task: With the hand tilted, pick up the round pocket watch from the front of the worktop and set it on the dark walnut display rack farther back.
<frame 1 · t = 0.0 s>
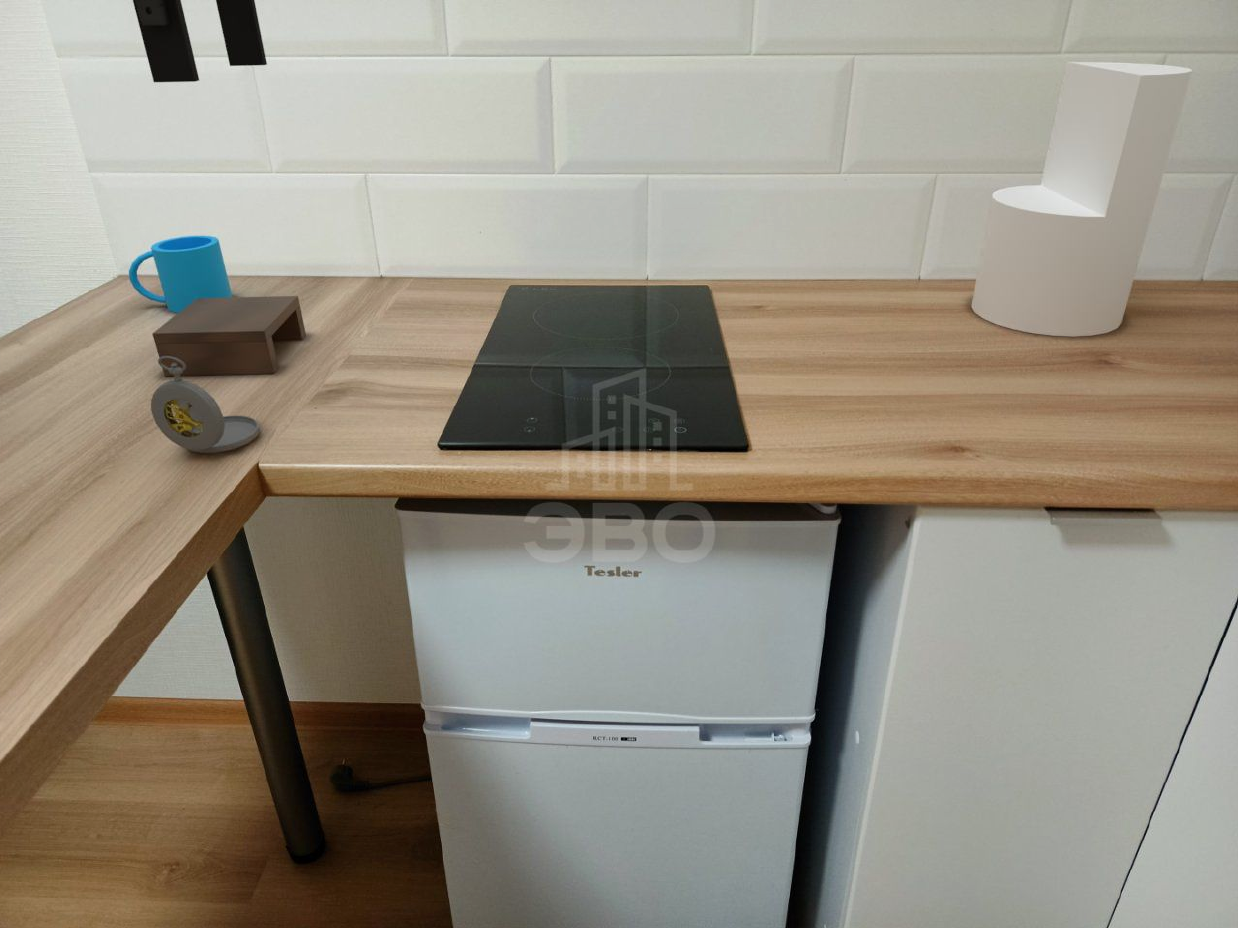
hand: (216, 73, 63), 32 cm above the table, tool pointing down, fingers open, 13 cm apart
white stepped block: (1043, 313, 108), on the table
pocket watch: (215, 447, 80), on the table
mug: (186, 306, 116), on the table
rack: (239, 354, 100), on the table
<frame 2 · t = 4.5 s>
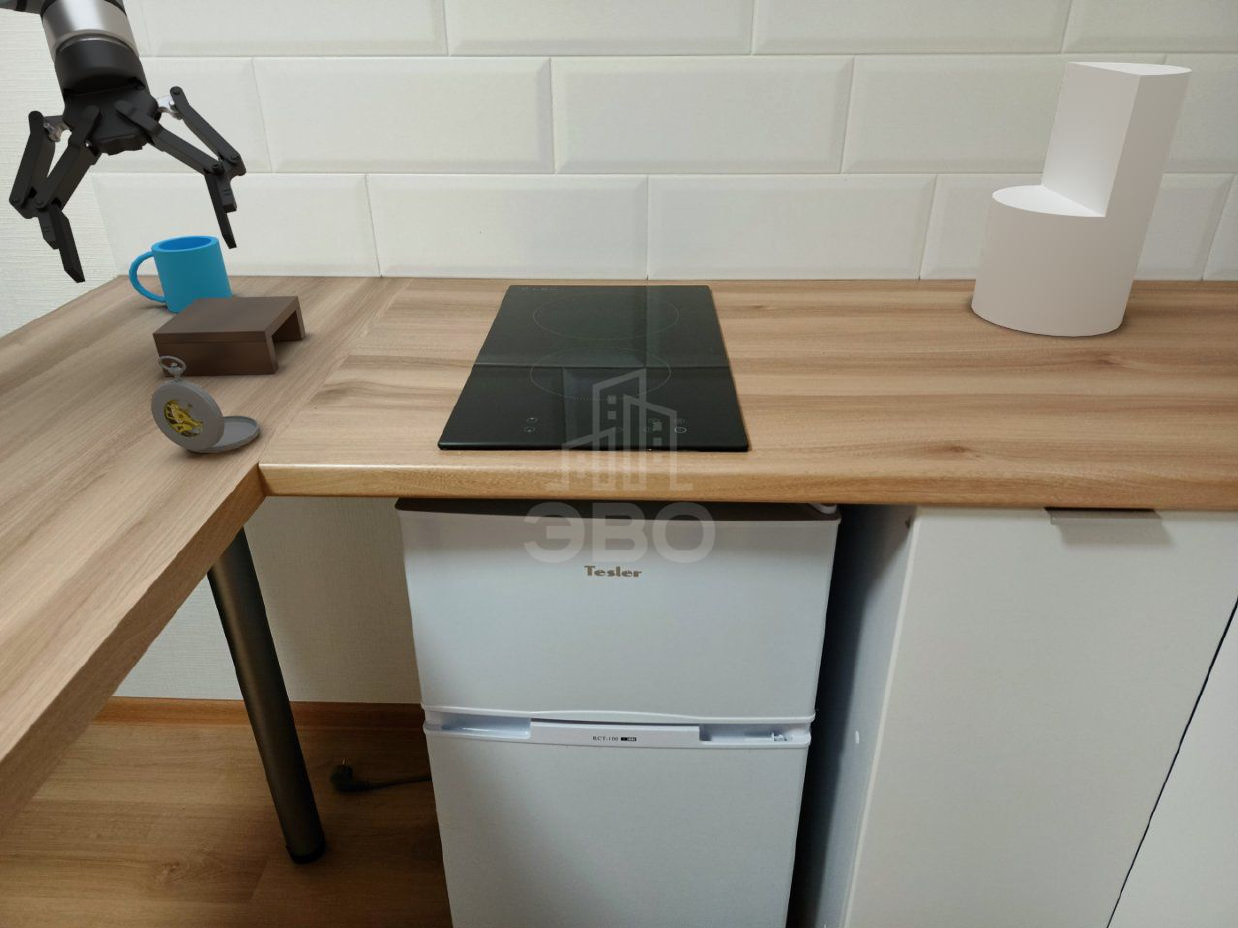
hand: (154, 259, 80), 15 cm above the table, tool tilted 40°, fingers open, 13 cm apart
nothing on the table moved.
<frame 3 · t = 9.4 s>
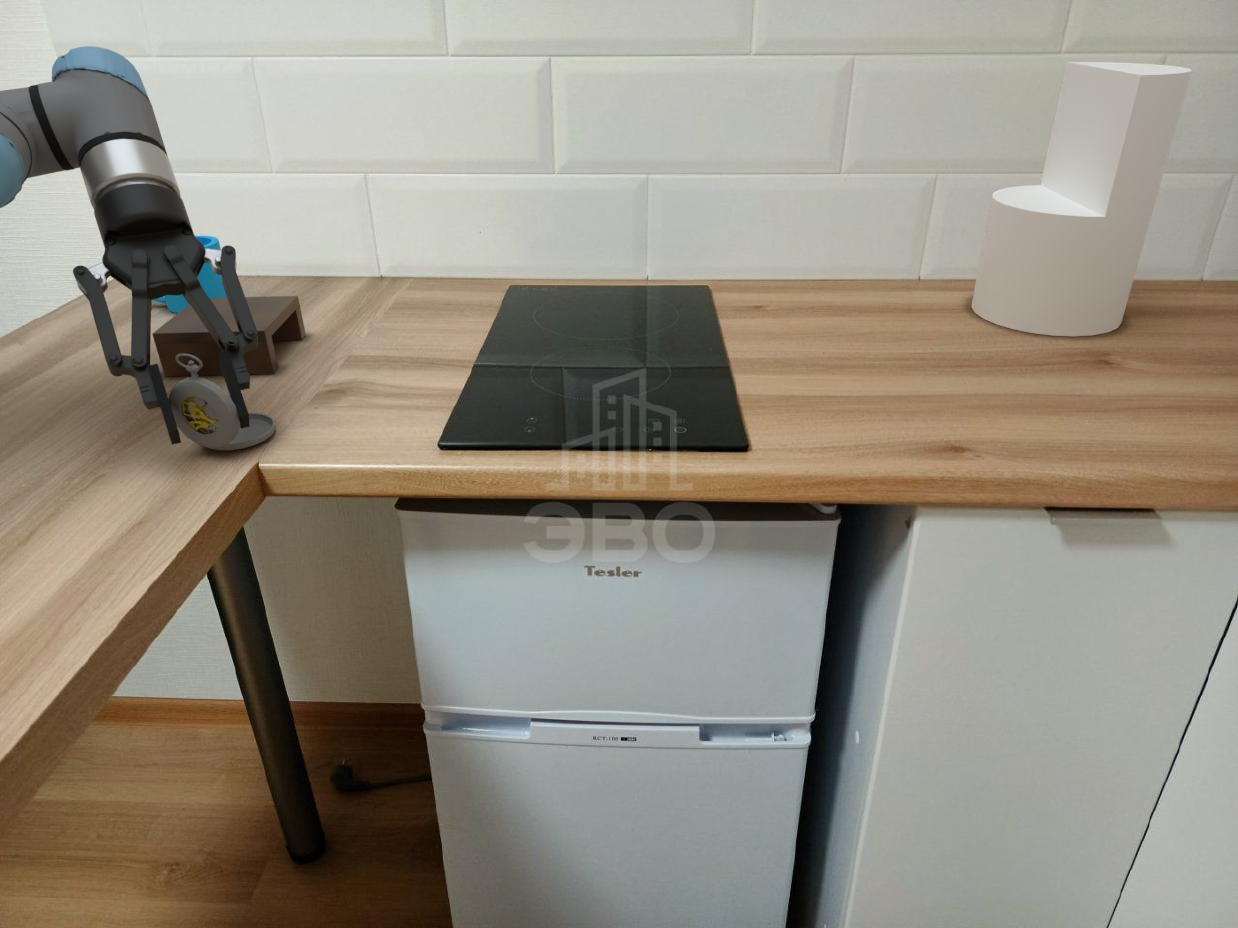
hand: (210, 429, 75), 3 cm above the table, tool tilted 45°, fingers closed on pocket watch, 5 cm apart
pocket watch: (231, 445, 80), on the table, touching gripper
everything else where it was.
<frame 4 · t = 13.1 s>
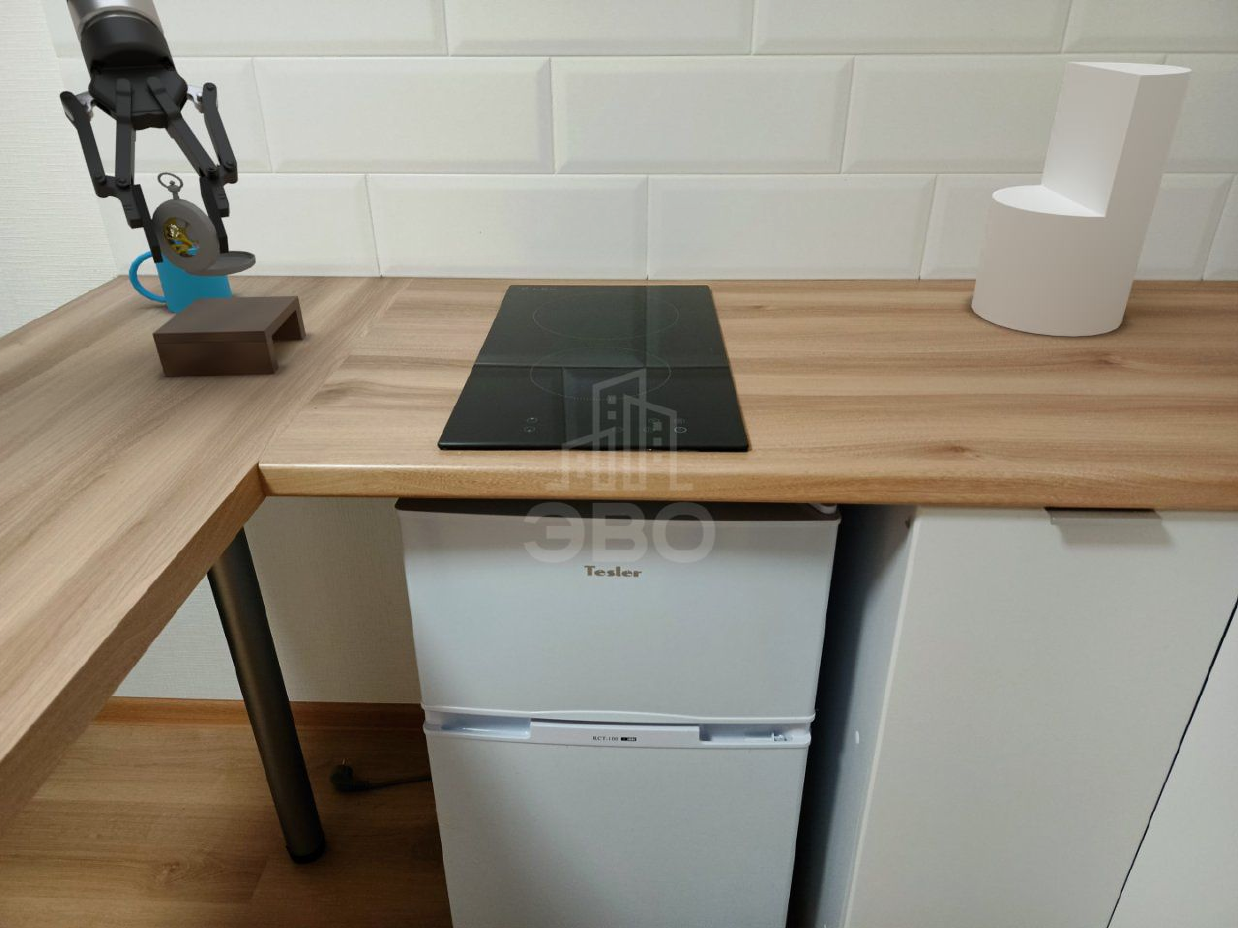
hand: (191, 249, 78), 16 cm above the table, tool tilted 45°, fingers closed on pocket watch, 5 cm apart
pocket watch: (212, 275, 84), point 13 cm above the table, touching gripper
everything else where it was.
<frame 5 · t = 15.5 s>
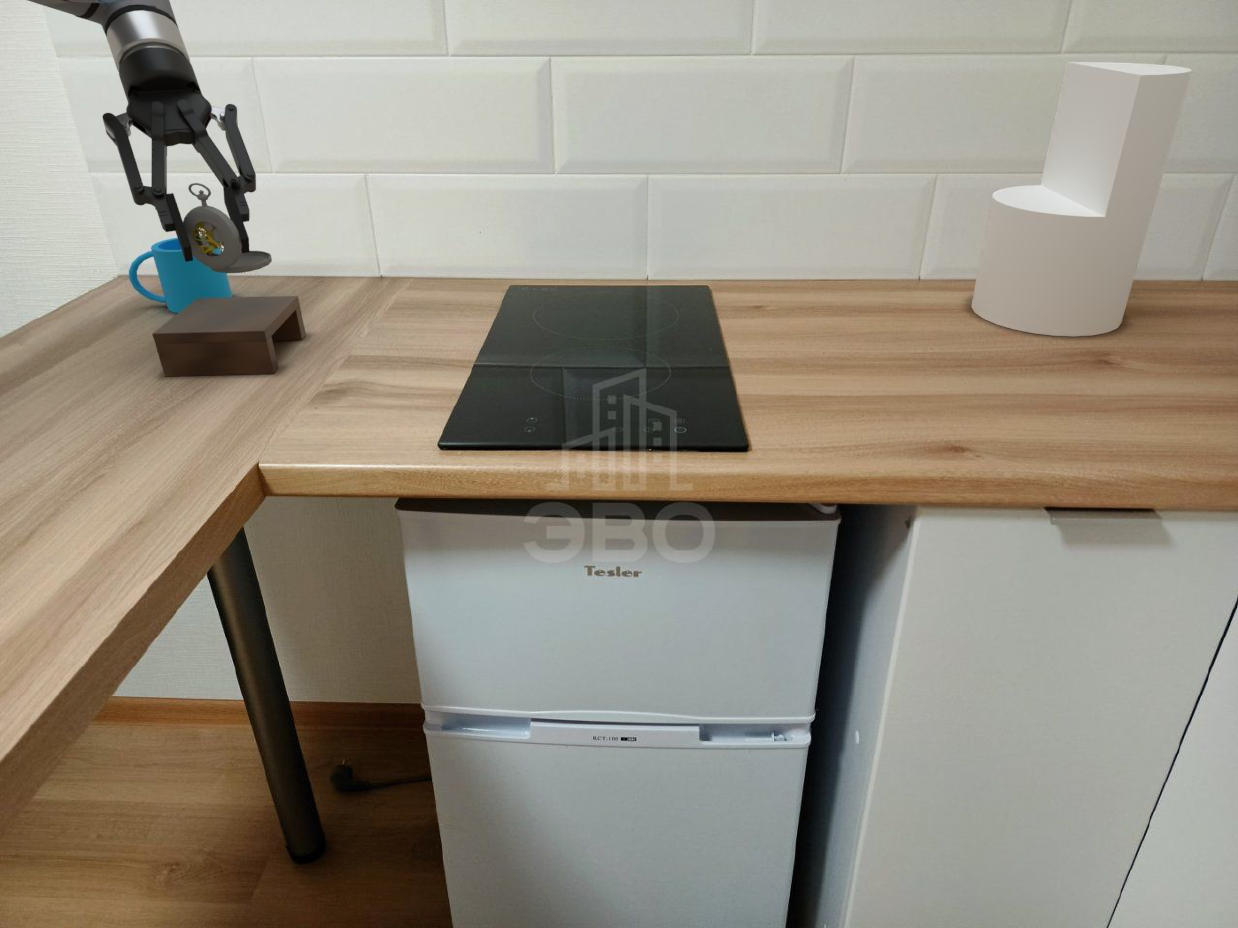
hand: (217, 249, 91), 13 cm above the table, tool tilted 45°, fingers closed on pocket watch, 5 cm apart
pocket watch: (234, 272, 96), point 10 cm above the table, touching gripper
everything else where it was.
when the fingers open (8 cm above the table, at t = 17.1 s): pocket watch stays where it is, resting on rack.
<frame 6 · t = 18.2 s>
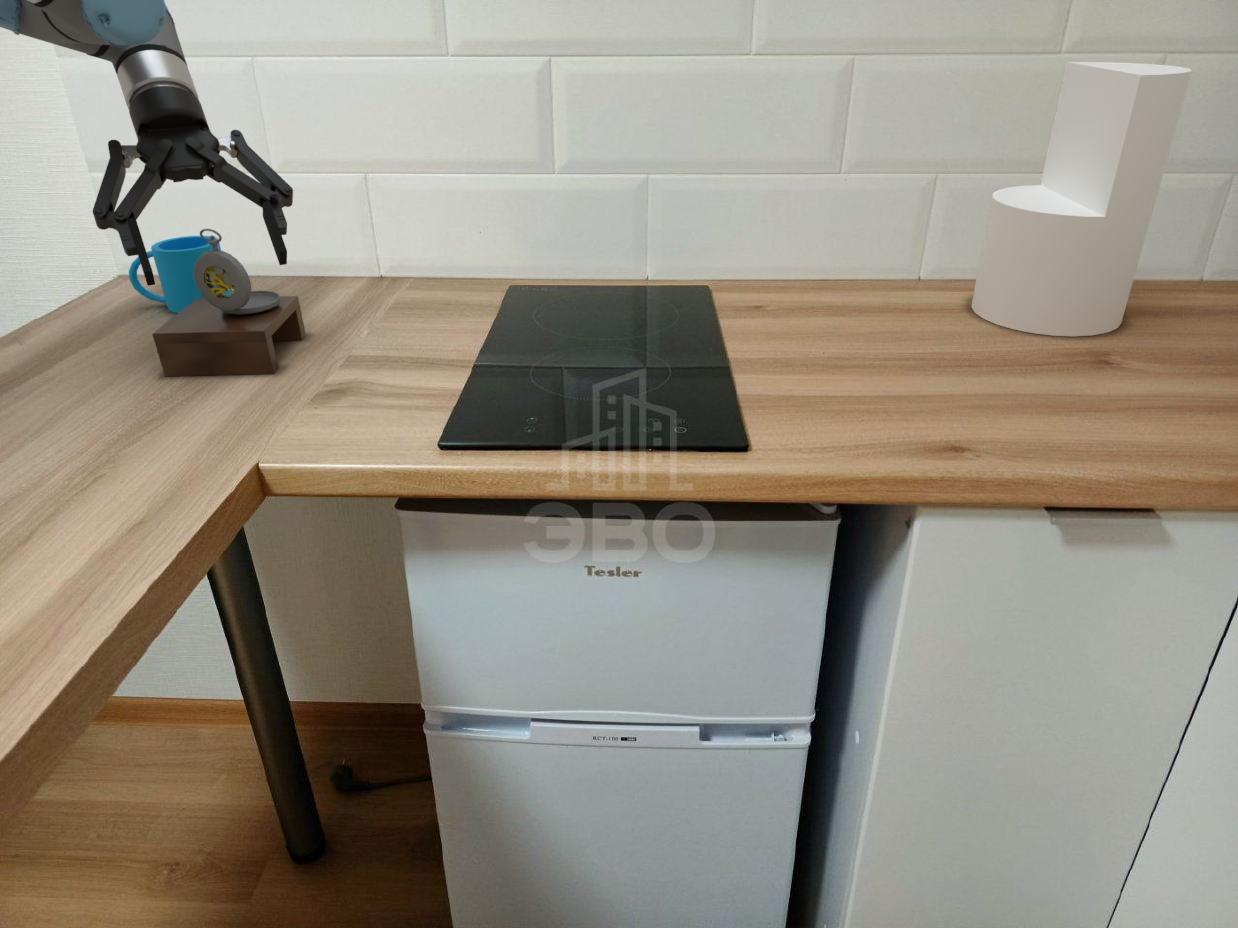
hand: (219, 268, 93), 11 cm above the table, tool tilted 45°, fingers open, 13 cm apart
pocket watch: (244, 312, 98), point 5 cm above the table, touching rack
everything else where it was.
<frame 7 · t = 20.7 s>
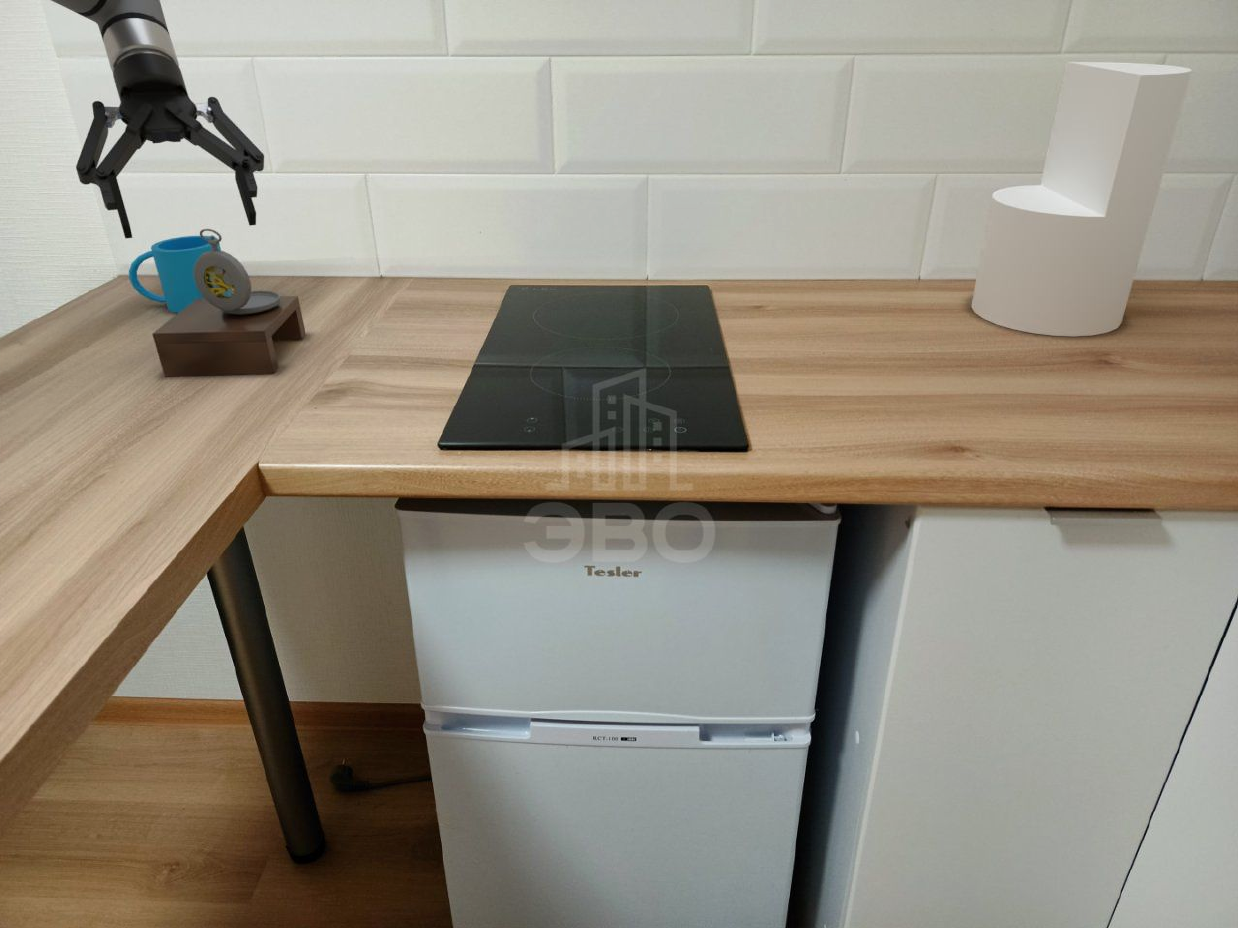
hand: (192, 226, 101), 13 cm above the table, tool tilted 40°, fingers open, 13 cm apart
nothing on the table moved.
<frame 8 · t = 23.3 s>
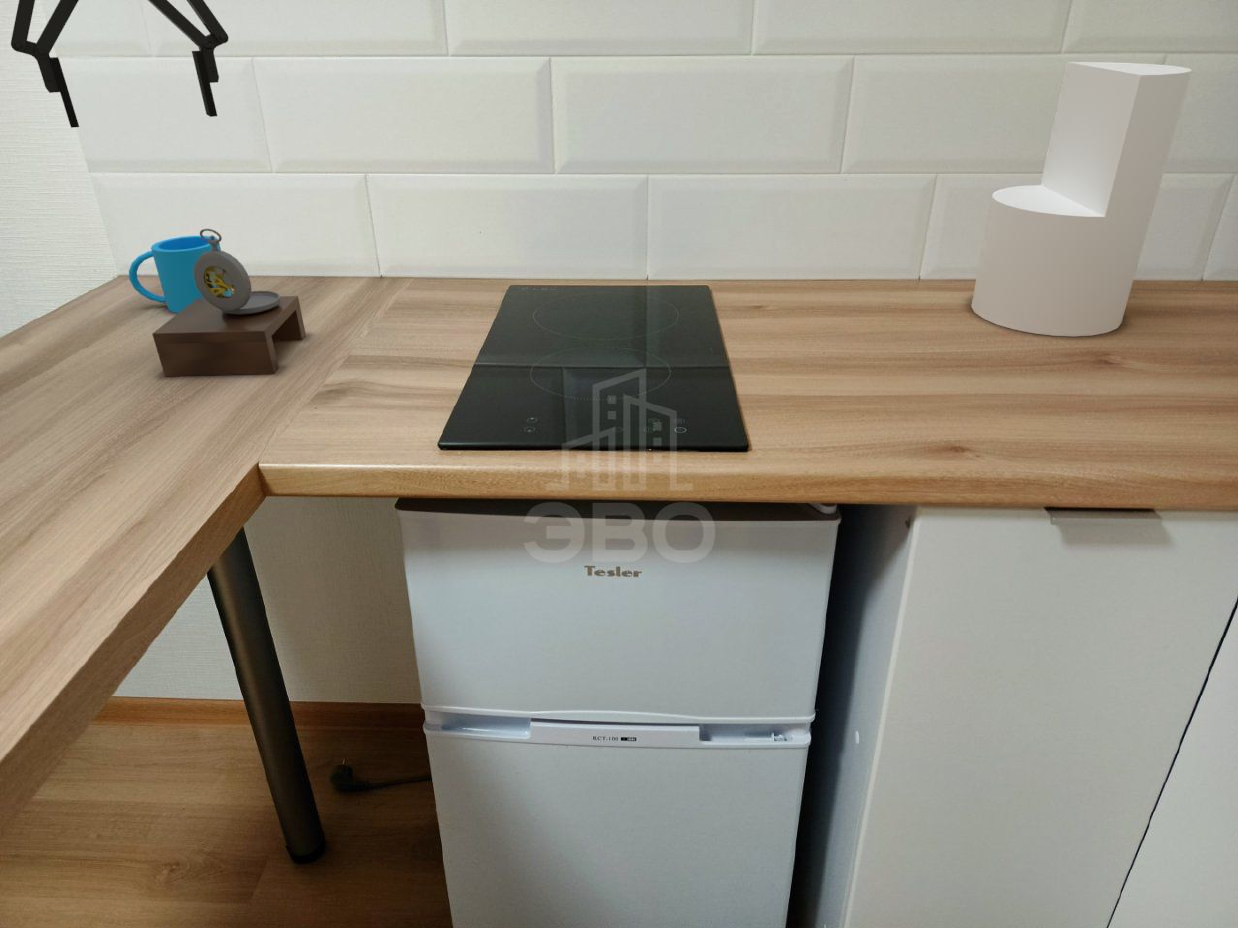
hand: (145, 121, 94), 25 cm above the table, tool pointing down, fingers open, 13 cm apart
nothing on the table moved.
at the end: pocket watch inside the target area on the rack (1.6 cm from its centre), point 4.8 cm above the rack's base; pocket watch tilted 0°; the gripper is holding nothing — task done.
